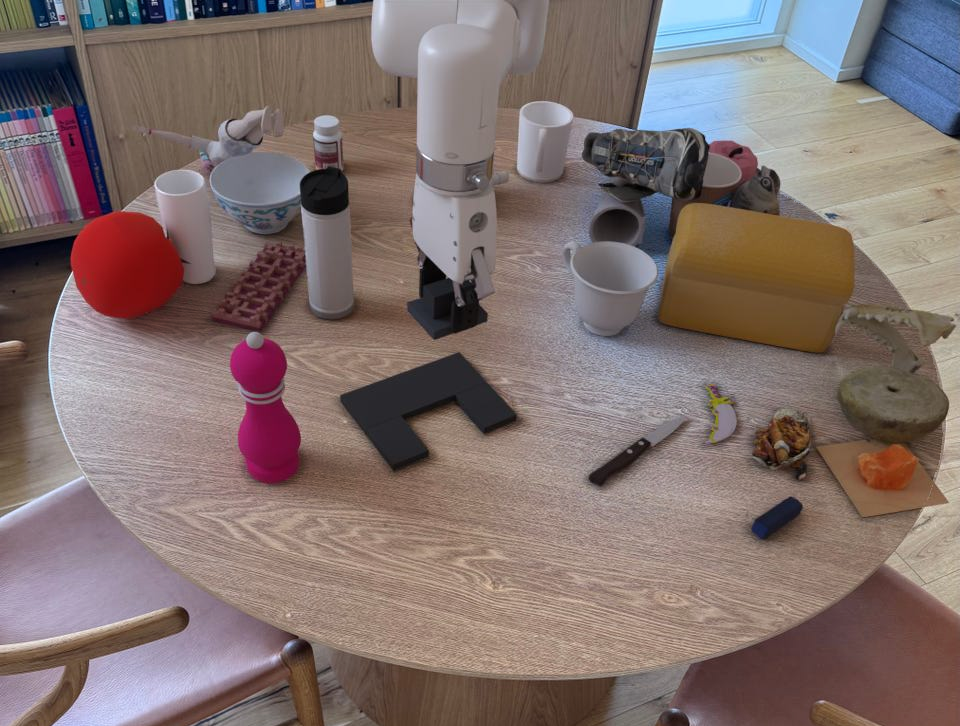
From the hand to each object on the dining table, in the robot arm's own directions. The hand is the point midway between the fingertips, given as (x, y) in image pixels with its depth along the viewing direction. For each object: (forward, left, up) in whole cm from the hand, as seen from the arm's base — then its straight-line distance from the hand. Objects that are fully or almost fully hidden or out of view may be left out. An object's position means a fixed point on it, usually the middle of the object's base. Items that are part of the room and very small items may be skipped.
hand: (447, 310), depth 105 cm
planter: (-51, -31, -19) cm, 63 cm away
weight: (-52, +27, -13) cm, 60 cm away
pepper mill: (+21, -5, -19) cm, 28 cm away
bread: (-51, +1, -19) cm, 54 cm away
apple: (-71, -26, -19) cm, 78 cm away
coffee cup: (-58, -18, -19) cm, 63 cm away
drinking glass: (+15, -45, -19) cm, 51 cm away
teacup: (-31, -9, -19) cm, 37 cm away
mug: (-47, -46, -19) cm, 68 cm away
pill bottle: (-16, -63, -19) cm, 68 cm away
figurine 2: (-60, -12, -16) cm, 63 cm away
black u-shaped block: (0, -4, -19) cm, 19 cm away
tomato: (+31, -41, -12) cm, 53 cm away
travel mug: (+1, -29, -19) cm, 34 cm away
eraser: (-30, +32, -16) cm, 47 cm away
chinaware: (0, -53, -19) cm, 56 cm away
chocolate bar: (+7, -37, -19) cm, 42 cm away
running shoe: (-54, -21, -7) cm, 58 cm away
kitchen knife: (-20, +16, -18) cm, 32 cm away
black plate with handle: (0, 0, -1) cm, 1 cm away
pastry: (-37, +24, -20) cm, 49 cm away
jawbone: (-62, +17, -12) cm, 65 cm away
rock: (-43, +33, -21) cm, 58 cm away
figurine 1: (-1, -48, +1) cm, 48 cm away
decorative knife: (-35, +17, -18) cm, 43 cm away
